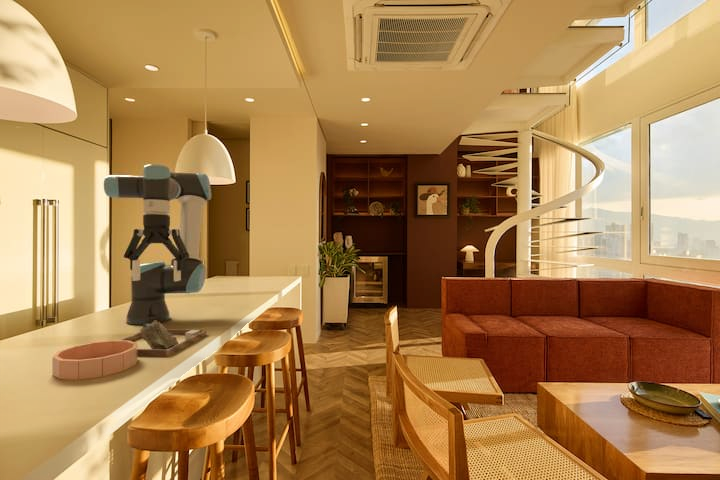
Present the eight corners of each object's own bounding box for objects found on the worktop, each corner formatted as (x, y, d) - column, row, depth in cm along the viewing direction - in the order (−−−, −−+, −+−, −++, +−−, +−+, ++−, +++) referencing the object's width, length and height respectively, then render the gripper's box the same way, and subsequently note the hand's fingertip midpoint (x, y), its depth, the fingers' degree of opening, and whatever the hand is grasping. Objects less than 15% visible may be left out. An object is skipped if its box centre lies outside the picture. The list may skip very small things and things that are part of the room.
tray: (148, 334, 131) (148, 329, 131) (206, 335, 130) (206, 330, 130) (97, 354, 108) (97, 348, 108) (167, 356, 107) (167, 350, 107)
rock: (182, 341, 119) (169, 351, 109) (167, 353, 119) (152, 364, 109) (158, 314, 118) (143, 321, 108) (143, 326, 118) (126, 335, 108)
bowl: (92, 355, 108) (92, 339, 108) (151, 356, 106) (151, 341, 106) (34, 378, 90) (34, 359, 90) (104, 380, 89) (104, 361, 89)
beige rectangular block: (191, 336, 129) (191, 330, 129) (200, 337, 128) (200, 330, 128) (185, 340, 125) (185, 332, 125) (193, 340, 124) (193, 333, 124)
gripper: (110, 213, 116) (110, 281, 116) (188, 213, 114) (188, 282, 114) (127, 214, 123) (127, 279, 123) (200, 214, 122) (200, 279, 122)
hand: (156, 280), depth 119 cm, fingers open, 13 cm apart
